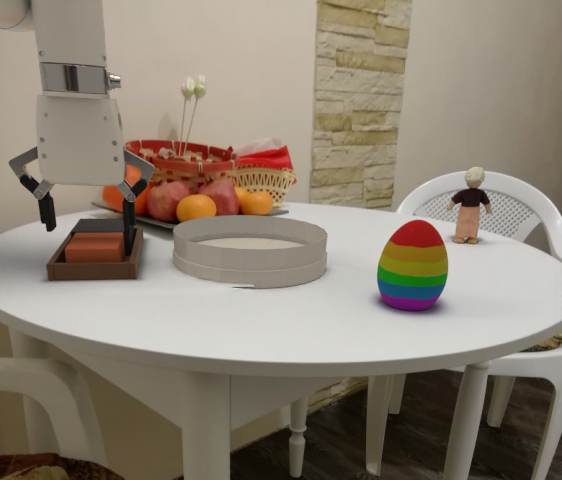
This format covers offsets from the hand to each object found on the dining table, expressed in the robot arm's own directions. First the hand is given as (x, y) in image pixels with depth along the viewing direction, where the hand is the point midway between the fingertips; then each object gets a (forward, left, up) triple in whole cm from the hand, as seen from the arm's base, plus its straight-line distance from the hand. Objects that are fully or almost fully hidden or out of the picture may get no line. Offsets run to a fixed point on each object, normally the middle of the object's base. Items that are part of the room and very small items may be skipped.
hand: (90, 230), depth 72 cm
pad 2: (+1, 0, -5) cm, 5 cm away
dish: (+22, +1, -6) cm, 22 cm away
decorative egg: (+39, -17, -6) cm, 42 cm away
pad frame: (+1, +4, -5) cm, 7 cm away
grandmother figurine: (+62, +14, -6) cm, 64 cm away
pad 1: (+1, +10, -5) cm, 11 cm away
